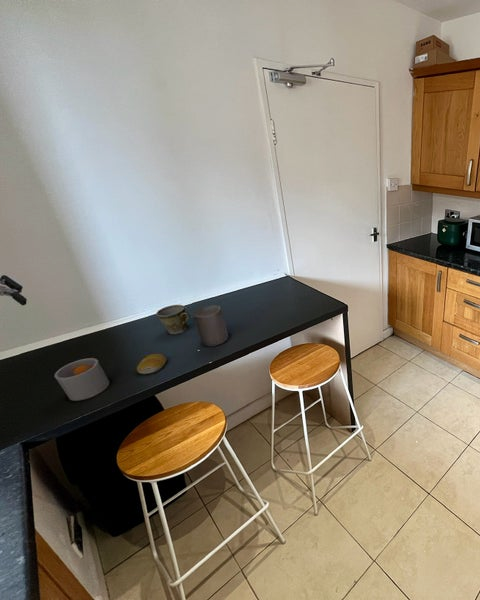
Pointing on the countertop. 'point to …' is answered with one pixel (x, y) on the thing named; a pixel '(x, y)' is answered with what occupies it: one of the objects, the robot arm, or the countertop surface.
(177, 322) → the ceramic cup
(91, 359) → the pot
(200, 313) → the grey canister
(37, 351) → the countertop surface
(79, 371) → the duck
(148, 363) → the bread roll
